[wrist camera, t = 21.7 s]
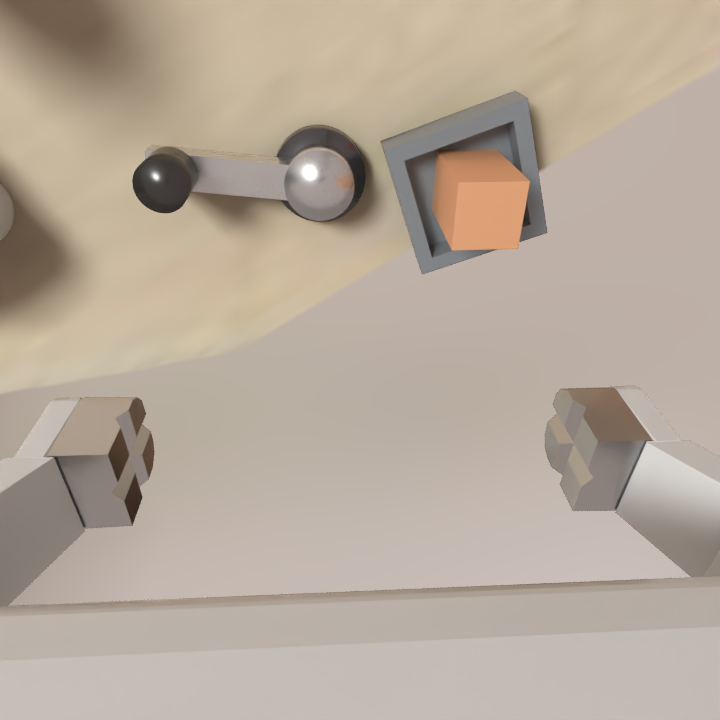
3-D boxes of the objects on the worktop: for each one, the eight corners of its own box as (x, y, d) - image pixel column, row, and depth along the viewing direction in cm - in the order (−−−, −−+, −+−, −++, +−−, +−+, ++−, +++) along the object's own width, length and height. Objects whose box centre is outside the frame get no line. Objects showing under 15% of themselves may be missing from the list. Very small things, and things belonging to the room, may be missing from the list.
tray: (515, 90, 34) (527, 97, 32) (535, 219, 39) (547, 232, 37) (380, 141, 36) (384, 150, 34) (416, 259, 41) (422, 274, 39)
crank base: (346, 110, 34) (347, 114, 33) (375, 198, 38) (376, 204, 37) (259, 144, 35) (258, 148, 34) (295, 227, 39) (295, 233, 38)
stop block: (496, 149, 36) (529, 181, 30) (488, 208, 38) (517, 248, 32) (436, 150, 36) (458, 182, 30) (431, 209, 38) (451, 250, 32)
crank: (356, 147, 34) (360, 167, 31) (349, 214, 37) (352, 240, 33) (149, 125, 33) (127, 144, 29) (156, 197, 35) (137, 222, 32)
